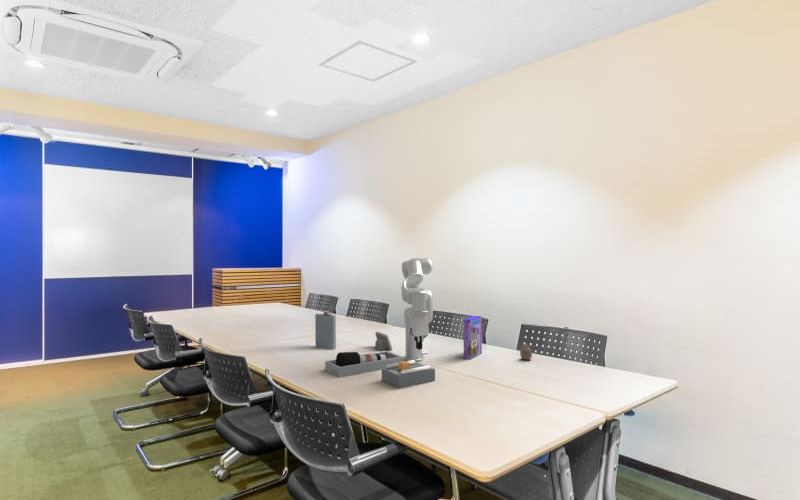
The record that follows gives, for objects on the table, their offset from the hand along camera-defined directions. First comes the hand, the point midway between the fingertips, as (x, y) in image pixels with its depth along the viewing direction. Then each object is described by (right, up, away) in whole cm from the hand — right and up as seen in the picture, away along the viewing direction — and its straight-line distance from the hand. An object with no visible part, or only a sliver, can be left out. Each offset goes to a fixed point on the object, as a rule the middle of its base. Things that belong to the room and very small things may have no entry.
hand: (419, 348), depth 233 cm
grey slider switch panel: (-6, -15, -4) cm, 17 cm away
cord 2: (-2, -9, -10) cm, 14 cm away
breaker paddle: (-8, -9, -6) cm, 13 cm away
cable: (-29, -16, +21) cm, 39 cm away
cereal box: (+36, -15, +47) cm, 61 cm away
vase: (+66, -15, +37) cm, 78 cm away
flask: (-60, -15, +72) cm, 95 cm away
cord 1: (-9, -9, +1) cm, 13 cm away
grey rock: (-21, -15, +68) cm, 73 cm away
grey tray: (-30, -15, +20) cm, 39 cm away
